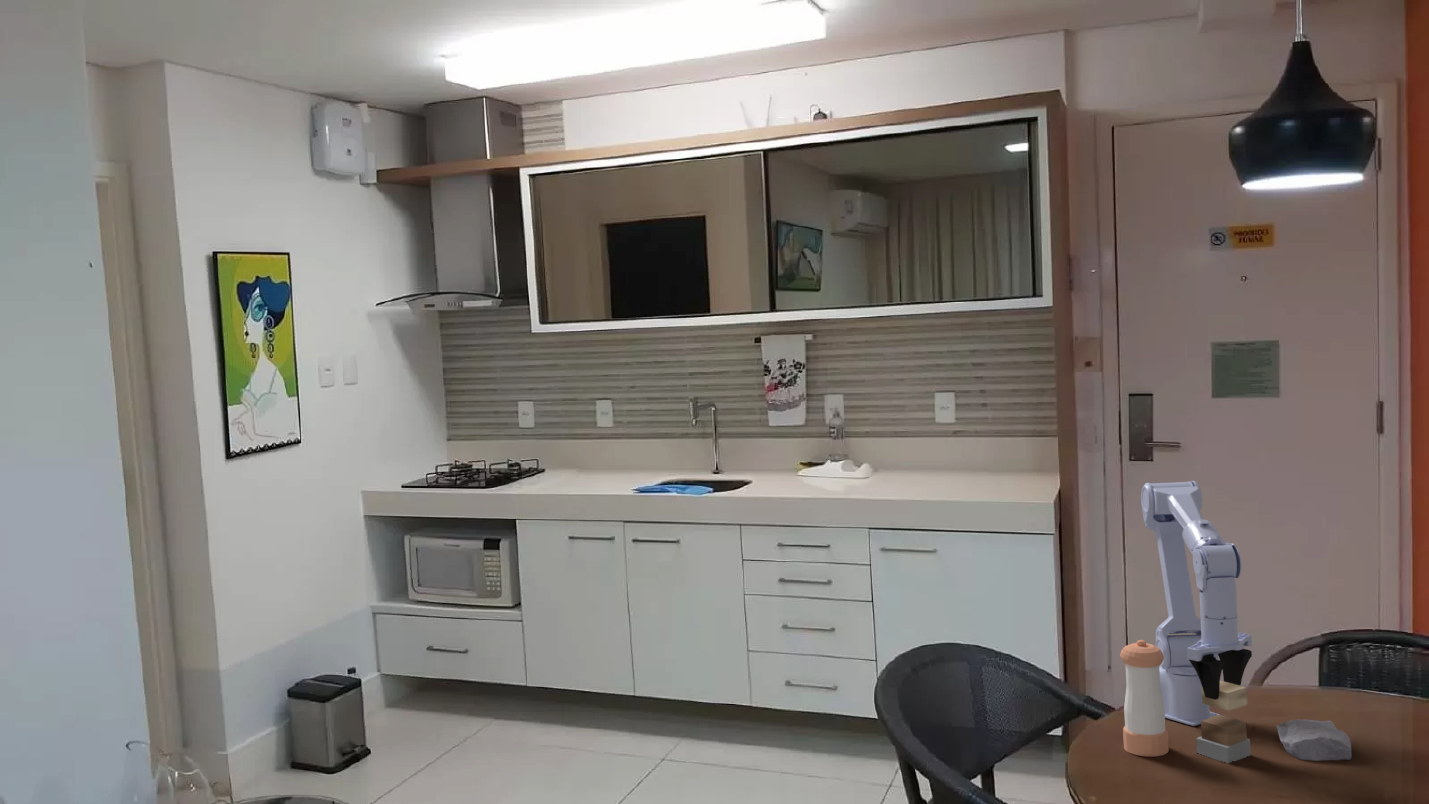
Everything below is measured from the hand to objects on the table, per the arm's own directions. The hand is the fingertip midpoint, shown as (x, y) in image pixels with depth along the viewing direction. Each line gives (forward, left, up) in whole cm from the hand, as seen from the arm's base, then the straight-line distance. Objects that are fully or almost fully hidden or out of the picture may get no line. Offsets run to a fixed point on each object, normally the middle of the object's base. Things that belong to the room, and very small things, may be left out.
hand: (1222, 694), depth 189 cm
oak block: (0, 0, -2) cm, 2 cm away
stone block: (+7, +13, -11) cm, 18 cm away
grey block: (0, 0, -10) cm, 11 cm away
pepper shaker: (-9, -8, -10) cm, 16 cm away
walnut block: (0, 0, -8) cm, 8 cm away
